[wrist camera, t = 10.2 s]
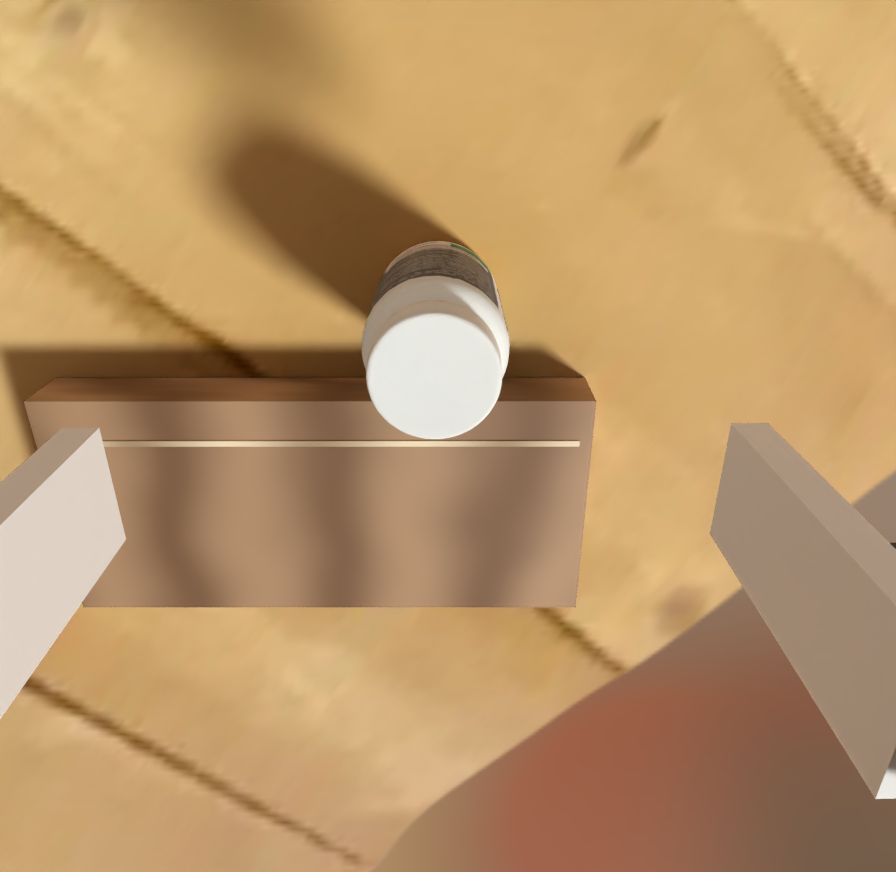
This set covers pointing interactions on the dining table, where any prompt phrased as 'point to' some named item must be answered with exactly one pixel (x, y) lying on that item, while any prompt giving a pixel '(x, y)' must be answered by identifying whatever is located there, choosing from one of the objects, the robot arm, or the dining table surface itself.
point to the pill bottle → (435, 341)
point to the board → (331, 494)
